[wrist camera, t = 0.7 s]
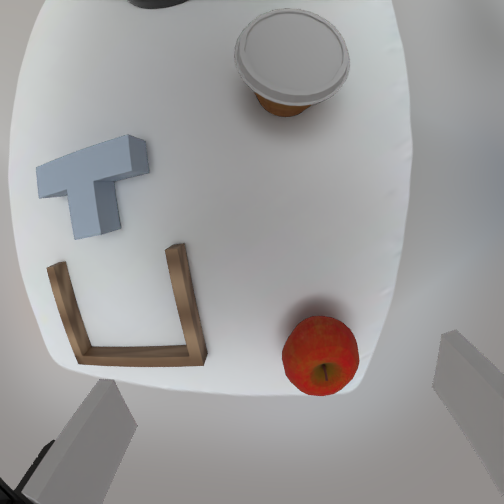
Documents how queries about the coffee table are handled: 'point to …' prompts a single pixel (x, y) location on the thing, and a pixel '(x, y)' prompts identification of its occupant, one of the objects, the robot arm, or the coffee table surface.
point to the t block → (93, 182)
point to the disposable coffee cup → (291, 60)
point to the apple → (320, 356)
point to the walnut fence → (135, 356)
